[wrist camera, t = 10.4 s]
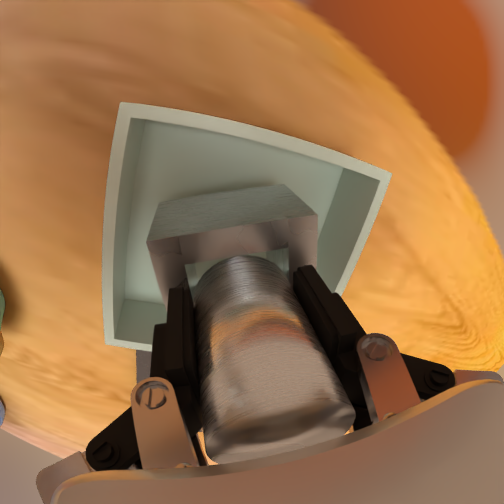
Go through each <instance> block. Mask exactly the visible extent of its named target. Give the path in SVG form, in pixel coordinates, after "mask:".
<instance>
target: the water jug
mask: <svg viewBox="0 0 504 504" xmlns="http://www.w3.org/2000/svg"><path fill="white" fill-rule="evenodd" d="M4 416H5V409H4V406H3V404H2V402H1V400H0V426H1V425H2V423H3V420H4Z"/></svg>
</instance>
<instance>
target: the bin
mask: <svg viewBox="0 0 504 504" xmlns="http://www.w3.org/2000/svg"><path fill="white" fill-rule="evenodd" d="M391 176H392V173H390V172H388V171H386V170H383V169H381V168H379V167H376V166H374V165H371V164H369V163H366V162H364V161H362V160H359V159H356V158H354V157H351V156H349V155H346V154H343V153H341V152H338V151H335V150H332V149H329V148H326V147H324V146H321V145H318V144H315V143H312V142H309V141H305V140H302V139H299V138H296V137H293V136H289V135H286V134H283V133H279V132H276V131H272V130H269V129H265V128H261V127H257V126H254V125H250V124H246V123H242V122H238V121H233V120H229V119H225V118H220V117H216V116H211V115H206V114H201V113H196V112H191V111H185V110H180V109H174V108H168V107H161V106H154V105H147V104H139V103H129V102H120V105H119V110H118V115H117V120H116V125H115V130H114V136H113V142H112V148H111V154H110V161H109V168H108V176H107V185H106V195H105V206H104V220H103V238H102V304H103V323H104V336H105V344H107V345H113V346H118V347H124V348H131V349H137V350H144V351H151V352H152V343H153V333H154V326H155V324H161V323H166V320H167V311H166V308H165V305H164V302H163V298H162V295H161V292H160V289H159V286H158V282H157V279H156V276H155V272H154V269H153V265H152V262H151V258H150V254H149V251H148V247H147V243H146V240H147V237H148V234H149V231H150V228H151V224H152V221H153V218H154V215H155V213H156V210H157V207H158V204H159V202H164V201H170V200H176V199H181V198H187V197H193V196H199V195H206V194H212V193H219V192H225V191H232V190H240V189H247V188H255V187H262V186H271V185H279V184H285V185H286V186H287V187H288V188H289V189H290V190H291V191H293V192H294V193H295V194H296V195H297V196H298V197H299V198H300V199H301V200H302V201H304V202H305V203H306V204H307V205H308V206H309V207H310V208H311V209H312V210H313V211H314V212H315V213H317V214H318V236H317V268H316V271H317V272H318V274H319V275H320V277H321V278H322V279H323V281H324V282H325V284H326V285H327V287H328V288H329V290H330V291H331V293H334V292H336V293H338V294H339V295H340V296H341V295H342V293H343V291H344V289H345V287H346V285H347V283H348V281H349V279H350V277H351V274H352V272H353V270H354V268H355V266H356V263H357V261H358V259H359V257H360V254H361V252H362V250H363V248H364V245H365V243H366V241H367V238H368V236H369V233H370V231H371V229H372V226H373V224H374V221H375V219H376V216H377V214H378V211H379V208H380V206H381V203H382V201H383V198H384V195H385V193H386V190H387V187H388V184H389V182H390V179H391ZM247 255H250V256H258V257H262V258H265V259H266V251H265V252H259V253H253V254H247ZM241 256H243V255H241ZM235 257H236V256H235ZM229 258H231V257H229ZM225 259H228V258H223V259H217V260H211V261H205V262H198V263H195V267H196V272H197V277H198V281H199V279H200V278H201V277H202V275H203V274H204V273H205V272H206V271H207V270H208V269H209V268H211V267H212V266H213V265H215V264H217V263H218V262H220V261H223V260H225Z"/></svg>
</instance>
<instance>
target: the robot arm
mask: <svg viewBox="0 0 504 504" xmlns="http://www.w3.org/2000/svg"><path fill="white" fill-rule="evenodd" d="M293 290H294V292H295V294H296V296H297V298H298V300H299V302H300V304H301V306H302V308H303V310H304V312H305V313H306V315H307V317H308V319H309V321H310V323H311V325H312V327H313V329H314V331H315V333H316V335H317V337H318V339H319V341H320V343H321V344H322V346H323V348H324V350H325V352H326V354H327V356H328V358H329V360H330V362H331V364H332V366H333V368H334V370H335V372H336V374H337V376H338V378H339V380H340V382H341V384H342V386H343V388H344V390H345V392H346V394H347V396H348V398H349V400H350V402H351V404H352V406H353V408H354V410H355V413H356V417H355V421H354V423H353V424H352V426H351V427H350V429H349V432H350V433H349V434H346V435H343V436H340V437H337V438H334V439H331V440H328V441H325V442H321V443H318V444H315V445H311V446H308V447H304V448H300V449H296V450H293V451H288V452H284V453H280V454H276V455H271V456H266V457H261V458H256V459H251V460H245V461H239V462H233V463H226V464H218V465H209V464H208V462H207V459H206V456H205V454H204V451H203V448H202V445H201V442H200V440H199V437H198V434H197V433H198V432H199V431H200V430H201V428H202V427H203V424H202V414H201V404H200V393H199V379H198V367H197V353H196V337H195V318H194V306H193V302H192V298H191V294H190V290H189V289H187V290H184V287H183V286H182V287H176V288H170V289H169V293H168V306H167V320H166V323H161V324H155V326H154V333H153V343H152V354H151V367H150V378H147V379H144V380H142V381H140V382H139V383H138V384H137V385H136V386H135V387H134V388H133V390H132V393H131V407H130V408H128V409H127V410H126V411H125V412H124V413H123V414H122V415H120V416H119V417H118V418H117V419H116V420H114V421H113V422H112V423H111V424H110V425H109V426H107V427H106V428H105V429H104V430H103V431H101V432H100V433H99V434H98V435H97V436H96V437H94V438H93V439H92V440H91V441H90V442H89V443H88V446H87V448H86V451H85V452H83V453H81V452H80V451H78V452H76V453H74V454H73V455H71V456H69V457H67V458H65V459H63V460H61V461H59V462H57V463H55V464H53V465H51V466H48V467H46V468H44V469H43V470H41V471H40V472H39V473H38V475H37V479H36V485H37V489H38V491H39V494H40V496H41V498H42V500H43V503H44V504H504V382H503V379H502V377H501V376H500V375H499V374H497V373H496V372H492V371H471V370H455V371H454V372H452V371H451V370H450V369H449V368H447V367H446V366H444V365H442V364H438V363H434V362H431V361H427V360H423V359H420V358H416V357H413V356H409V355H406V354H402V353H400V352H399V349H398V347H397V345H396V344H395V342H394V341H393V340H392V339H391V338H390V337H388V336H386V335H384V334H379V333H371V334H366V333H365V331H364V330H363V328H362V327H361V325H360V324H359V322H358V321H357V319H356V318H355V317H354V315H353V314H352V312H351V311H350V309H349V308H348V306H347V305H346V304H345V302H344V301H343V299H342V298H341V296H340V295H339V294H338V293H336V292H334V293H331V291H330V290H329V288H328V287H327V285H326V284H325V282H324V281H323V279H322V278H321V277H320V275H319V274H318V272H317V271H316V269H315V268H314V267H313V265H306V266H301V267H298V268H297V271H294V272H293Z"/></svg>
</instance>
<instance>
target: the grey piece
mask: <svg viewBox="0 0 504 504" xmlns="http://www.w3.org/2000/svg"><path fill="white" fill-rule="evenodd" d="M317 236H318V214H317V213H315V212H314V211H313V210H312V209H311V208H310V207H309V206H308V205H307V204H306V203H305V202H304V201H302V200H301V199H300V198H299V197H298V196H297V195H296V194H295V193H294V192H293V191H291V190H290V189H289V188H288V187H287V186H286V185H285V184H279V185H271V186H262V187H255V188H247V189H240V190H232V191H225V192H219V193H212V194H206V195H199V196H193V197H187V198H181V199H176V200H170V201H164V202H159V204H158V207H157V210H156V213H155V215H154V218H153V221H152V224H151V228H150V231H149V234H148V237H147V240H146V243H147V247H148V251H149V254H150V258H151V262H152V265H153V269H154V272H155V276H156V279H157V282H158V286H159V289H160V292H161V295H162V298H163V302H164V305H165V308H166V311H167V306H168V293H169V289H170V288H176V287H182V286H183V287H184V290H187V289H189V290H190V294H191V298H192V302H193V306H194V318H195V337H196V353H197V367H198V379H199V393H200V404H201V414H202V424H203V432H204V441H205V449H206V454H207V456H208V457H209V458H210V459H211V460H213V461H214V462H216V463H218V464H226V463H233V462H239V461H245V460H251V459H256V458H261V457H266V456H271V455H276V454H280V453H284V452H288V451H293V450H296V449H300V448H304V447H308V446H311V445H315V444H318V443H321V442H325V441H328V440H331V439H334V438H337V437H340V436H343V435H344V434H345V433H346V432H347V431H348V430H349V429H350V427H351V426H352V424H353V423H354V421H355V417H356V413H355V410H354V408H353V406H352V404H351V402H350V400H349V398H348V396H347V394H346V392H345V390H344V388H343V386H342V384H341V382H340V380H339V378H338V376H337V374H336V372H335V370H334V368H333V366H332V364H331V362H330V360H329V358H328V356H327V354H326V352H325V350H324V348H323V346H322V344H321V343H320V341H319V339H318V337H317V335H316V333H315V331H314V329H313V327H312V325H311V323H310V321H309V319H308V317H307V315H306V313H305V312H304V310H303V308H302V306H301V304H300V302H299V300H298V298H297V296H296V294H295V292H294V290H293V272H294V271H297V268H298V267H301V266H306V265H313V267H314V268H315V269H316V268H317ZM265 251H266V259H265V258H262V257H258V256H250V255H247V254H253V253H259V252H265ZM241 255H243V256H241ZM235 256H236V257H235ZM229 257H231V258H229ZM223 258H228V259H225V260H223V261H220V262H218V263H217V264H215V265H213V266H212V267H211V268H209V269H208V270H207V271H206V272H205V273H204V274H203V275H202V277H201V278H200V279H199V281H198V277H197V272H196V267H195V263H198V262H205V261H211V260H217V259H223Z"/></svg>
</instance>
